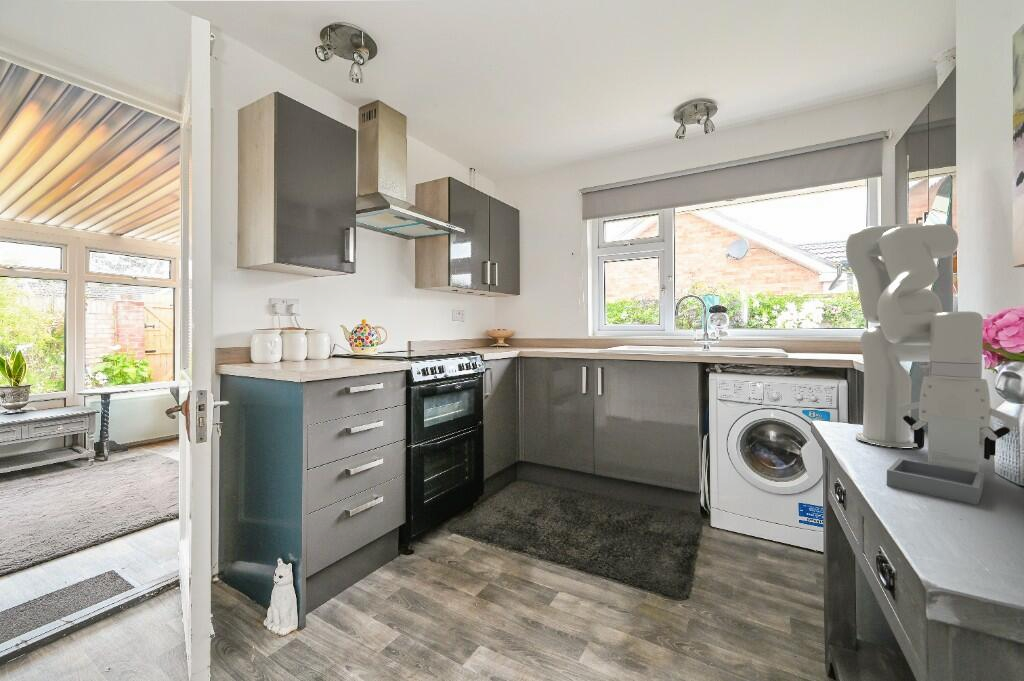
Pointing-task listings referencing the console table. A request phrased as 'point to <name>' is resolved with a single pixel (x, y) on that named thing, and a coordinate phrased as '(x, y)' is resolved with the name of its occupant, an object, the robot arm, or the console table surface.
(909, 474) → the holder tray
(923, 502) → the console table surface
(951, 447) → the supplement box
